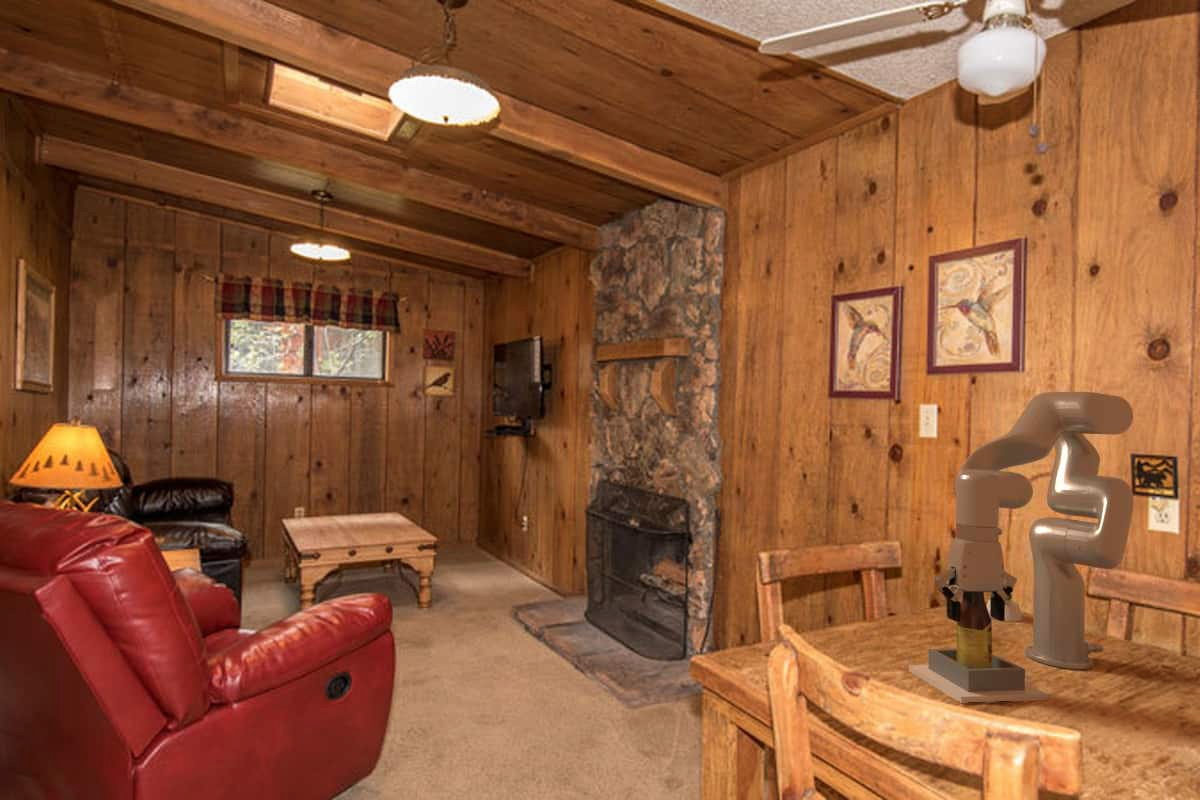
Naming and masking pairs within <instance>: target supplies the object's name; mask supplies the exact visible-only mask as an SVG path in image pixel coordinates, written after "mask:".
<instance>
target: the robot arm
mask: <svg viewBox="0 0 1200 800" xmlns="http://www.w3.org/2000/svg"><path fill="white" fill-rule="evenodd" d="M1133 420H1134V412H1133V409H1132V405H1131V404H1130V403H1129V401H1127V400H1126V399H1125V398H1124V397H1121V396H1118V395H1112V394H1108V393H1107V394H1106V393H1100V392H1093V391H1049V392H1042V393H1039V394H1037V395H1035V396H1034V397H1032V399H1031V400H1030V401H1029V402H1028V404H1027V405H1026V407H1025V408H1024V410H1023V412H1022V413H1021V414H1020V416H1019V417H1018V419H1017V420H1016V422H1015V423H1014V424H1013V426H1012V427H1011V429H1010V431H1009V432H1008V433H1006V434H1004V435H1001V436H999V437H998V438H995V439H993V440H992V441H989V442H988V443H986V444H984V445H981V446H980V447H978V448H977V449H976V450H974V451H973V452H972V453H971V454H969V456H968V457H967V458H966V459H965V461H964V462H963V464H962V465H961V467H960V469H959V470H958V471H957V473H956V476H955V479H954V482H953V486H954V493H955V496H956V497H955V538H951V540H950V544H949V549H948V554H947V559H946V560H947V561H946V570H945V571H944V572H942V573H941V574H938V575H937V576H935V578H934V581H935V583H936V585H937V587H938V590H939V592H940V593H941V594H942V595H943V597H944V598H945V599H946V618H947V619H949V620H952V621H954V622H956V623H957V622H960V619H961V603H962V602H961V601H959V599H960V598H961V597H962V596H963V593H964V592H984V593H990V594H991V593H992V595H993V596H994V597H991V596H990V616H991V617H992V618H991V619H993V618H995V619H994V620H996V619H997V621H1000V622H1005V621H1004V620H1005V601H1007V600H1008V596H1009V595H1010V594H1011V595H1012V593H1013V591H1014V587H1015V586H1016V584H1017V580H1018V579H1017V577H1015V576H1014V575H1012V574H1010V573H1008V572H1006V571H1005V562H1004V553H1003V548H1002V543H1001V542H1000V541H999V536H1001V535H1002V534H1003V530H1002V529H1001V528H999V519H1000V518H999V516H1000V514H999V513H1000V512H999V511H1000V510H999V509H1008V510H1009V509H1010V510H1015V509H1020V508H1023V507H1025V506H1027V505H1028V504H1029V503H1030V502H1031V500H1032V498H1033V495H1034V488H1033V485H1032V483H1031V481H1030V480H1029V479H1028V478H1027V477H1026V476H1024V475H1023V474H1021V473H1017V472H1015V471H1013V472H1012V471H1002V470H1004V469H1008V468H1012V467H1013V468H1014V467H1018V466H1023V465H1027V464H1030V463H1031V464H1032V463H1033V462H1038V461H1041V460H1043V459H1045V458H1047V456H1049V454H1050V453H1051V451H1052V450H1053V447H1054V449H1055V450H1054V451H1055V453H1054V454H1055V456H1054V462H1053V465H1052V472H1051V475H1050V480H1049V483H1048V488H1047V492H1046V493H1047V494H1046V503H1047V506H1048V508H1049V509H1050V510H1051V511H1053V512H1056V513H1058V514H1061V515H1067V516H1073V517H1079V518H1089V519H1095V520H1096V519H1097V522H1093V521H1092V522H1090V521H1086V520H1085V521H1084V520H1078V519H1070V518H1063V517H1062V518H1061V517H1054V516H1053V517H1052V516H1051V517H1050V516H1049V517H1048V516H1047V517H1041V518H1038V519H1037V520H1035V521H1034V522H1033V523H1032V524H1031V526H1030V528H1029V531H1028V532H1029V533H1028V540H1029V545H1030V550H1031V556H1032V562H1033V563H1032V564H1033V615H1032V616H1033V618H1032V621H1033V625H1032V627H1033V628H1032V631H1033V632H1032V633H1033V634H1032V645H1029V646H1026V647H1025V648H1024V654H1025V656H1027V657H1028V658H1029V659H1031V660H1034V661H1035V662H1039V663H1041V664H1044V665H1048V666H1052V667H1058V668H1064V669H1070V670H1088V669H1090V668H1092V667H1093V666H1094V661H1093V659H1092V658H1091V657H1090V656H1089V654H1091V653H1102V652H1103V651H1104V648H1103V645H1102V644H1101V643H1098V642H1097V643H1093V642H1092V643H1089V642H1088V641H1086V640H1085V615H1086V613H1085V608H1086V607H1085V605H1086V604H1085V603H1086V602H1085V601H1086V599H1085V597H1086V595H1085V594H1086V585H1085V582H1084V578H1083V576H1082V574H1081V573H1080V570H1079V569H1078V568H1077V566H1076V565H1081V566H1087V567H1092V568H1097V569H1104V570H1111V569H1115V568H1117V567H1118V566H1119V565H1120V564H1121V563H1122V561H1123V559H1124V556H1125V551H1126V548H1127V543H1128V539H1129V538H1128V537H1129V532H1130V528H1131V523H1132V517H1133V512H1134V505H1135V503H1134V502H1135V498H1134V494H1133V493H1134V492H1133V490H1132V488H1131V486H1130V484H1129V483H1128V482H1126V481H1125V480H1123V479H1121V478H1120V477H1119V478H1118V477H1114V476H1103V475H1099V469H1100V464H1101V457H1100V454H1099V452H1098V450H1097V449H1096V447H1095V446H1094V444H1093V443H1092V442H1091V441H1090V440H1089V439H1088V438H1087V437H1086V436H1085V435H1087V434H1088V435H1111V436H1113V435H1121V434H1124V433H1126V432H1127V431H1128V430H1129V429H1130V427H1131V426H1132V424H1133ZM1087 668H1088V669H1087Z"/></svg>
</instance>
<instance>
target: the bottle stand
mask: <svg viewBox="0 0 1200 800" xmlns="http://www.w3.org/2000/svg"><path fill="white" fill-rule="evenodd" d="M927 662H928V664H917V665H916V664H914V665H913V664H912V665H910V664H909V665H908V668H909V669H908V672H910V673H912V674H913V675H914V676H917V677H918V678H919V679H921V680H923V681H924V682H926V683H927V684H929V685H930V686H932V687H934V688H936V689H937V690H939V691H940V692H942V693H943V694H945V695H947V696H949V697H950V698H951V697H952V698H951V699H953V700H955V701H956V700H957V701H956V702H958V701H960V702H959V703H960V704H962V703H961V702H986V703H996V702H995V701H998V702H997V703H1000V702H999V701H1011V702H1012V701H1013V702H1032V701H1034V702H1035V701H1036V702H1037V701H1038V702H1039V701H1048V693H1046V692H1044V691H1042V690H1040V689H1038V688H1036V687H1035V686H1032V685H1030V684H1028V683H1026V669H1025V668H1023V667H1022V666H1019V665H1018V664H1015V663H1013V662H1011V661H1010V660H1007V659H1004V658H1003V657H1001V656H999V655H996V654H994V653H992V668H978V669H969V668H967V667H966V666H964V665H962V664H960V663H958V662H957V648H929V649H928V661H927Z"/></svg>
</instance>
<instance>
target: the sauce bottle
mask: <svg viewBox="0 0 1200 800" xmlns="http://www.w3.org/2000/svg"><path fill="white" fill-rule="evenodd" d="M961 597H962V602H960V603H961V619H960V622H956V649H957V662H958V663H960V664H962V665H964V666H966V667H967V668H969V669H978V668H992V654H993V629H992V626H993V624H992V618H990V615H989V612H988V609H987V607H986V605H987V603H986V602H985V592H964V593H963V594H962V596H961Z"/></svg>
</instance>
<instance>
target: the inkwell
mask: <svg viewBox="0 0 1200 800" xmlns="http://www.w3.org/2000/svg"><path fill="white" fill-rule="evenodd" d="M989 595H990V599H991V597H994V596H993V595H992V593H991V592H990V594H989ZM990 599H988V600H987V603H986V607H987V609H988V612H989V615H990ZM990 618H991V619H994V620H997V619H995V618H992V617H991V616H990ZM1023 620H1024V618H1023V614H1022V611H1021V608H1020V605H1019V603H1017V602H1015V601H1014V599H1013V595H1012V593H1011V594H1010V595H1009V596H1008V600H1007V601H1005V620H1004V621H1003V622H1010V623H1013V622H1014V623H1015V622H1017V623H1018V622H1022V621H1023ZM997 621H998V620H997Z"/></svg>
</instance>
